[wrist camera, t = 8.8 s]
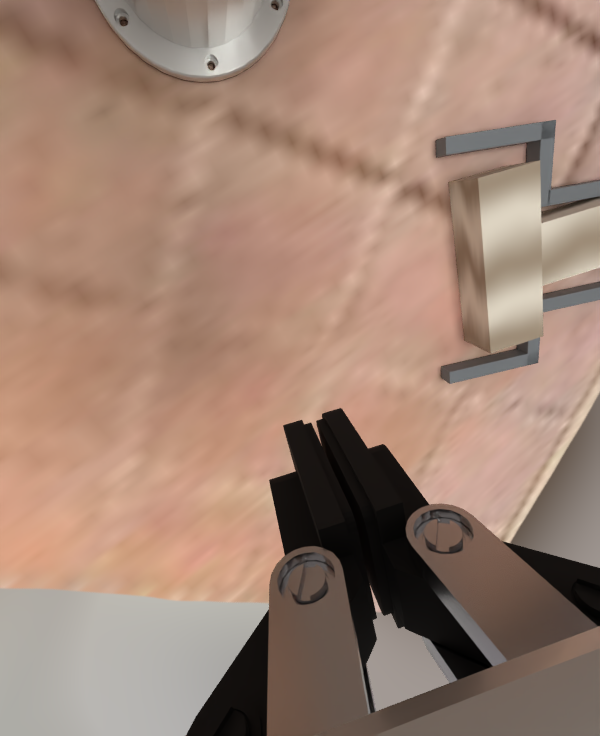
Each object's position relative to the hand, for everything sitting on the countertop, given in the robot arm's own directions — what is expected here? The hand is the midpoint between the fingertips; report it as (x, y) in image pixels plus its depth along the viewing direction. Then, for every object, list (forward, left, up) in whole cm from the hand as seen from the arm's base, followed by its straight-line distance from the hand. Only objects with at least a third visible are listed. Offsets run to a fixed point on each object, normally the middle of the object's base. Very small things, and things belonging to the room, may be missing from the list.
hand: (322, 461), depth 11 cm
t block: (0, +25, -24) cm, 35 cm away
